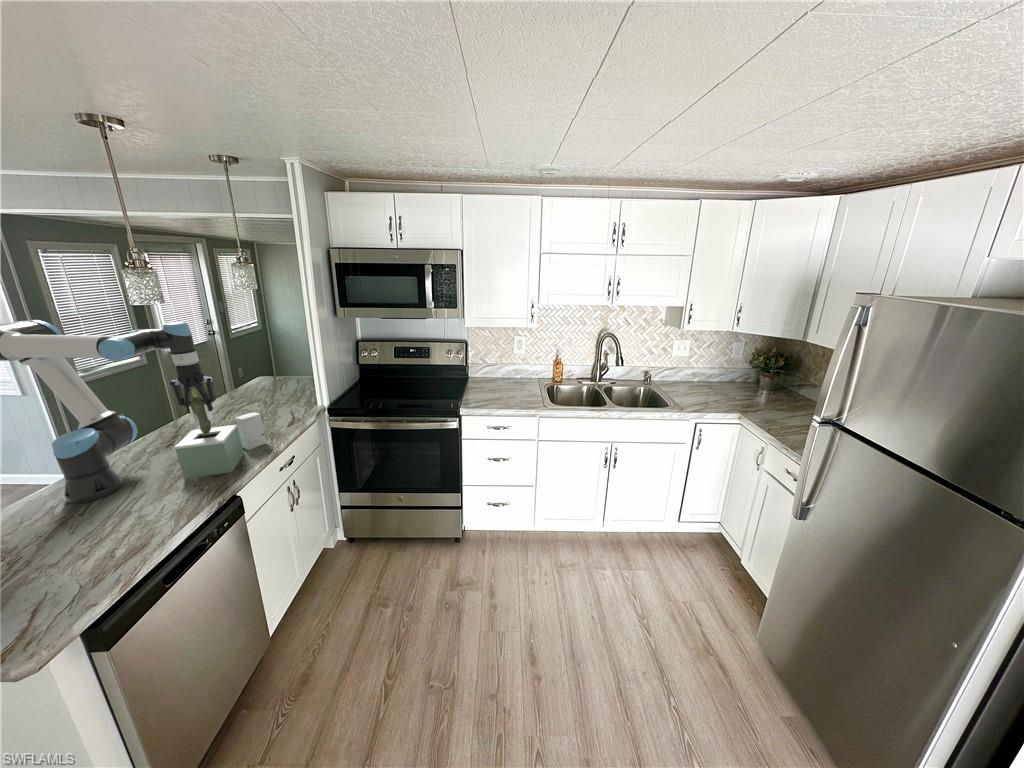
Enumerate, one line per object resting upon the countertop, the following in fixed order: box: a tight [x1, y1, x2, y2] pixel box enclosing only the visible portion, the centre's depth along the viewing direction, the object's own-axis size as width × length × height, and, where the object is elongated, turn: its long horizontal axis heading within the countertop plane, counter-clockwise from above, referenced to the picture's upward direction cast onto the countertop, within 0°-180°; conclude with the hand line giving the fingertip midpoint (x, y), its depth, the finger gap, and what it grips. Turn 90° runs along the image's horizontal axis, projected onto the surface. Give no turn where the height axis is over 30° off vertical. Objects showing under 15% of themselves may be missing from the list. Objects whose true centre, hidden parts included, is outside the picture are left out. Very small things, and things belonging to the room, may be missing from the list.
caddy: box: [174, 424, 245, 480], centre depth 164 cm, size 16×16×14 cm
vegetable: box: [189, 387, 212, 435], centre depth 158 cm, size 4×4×20 cm
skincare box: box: [234, 411, 267, 451], centre depth 181 cm, size 8×6×15 cm
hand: (203, 419), depth 159 cm, fingers closed on vegetable, 4 cm apart
